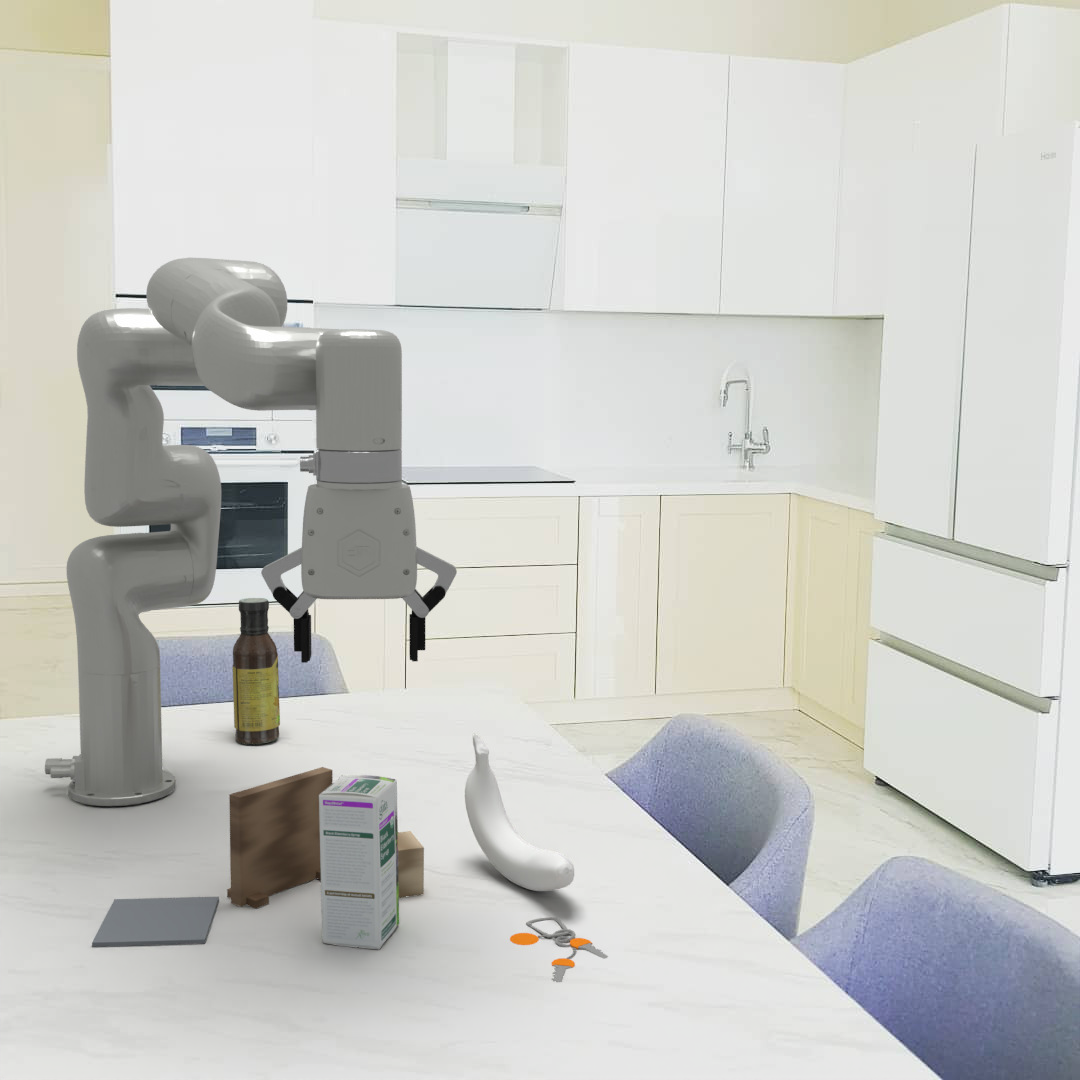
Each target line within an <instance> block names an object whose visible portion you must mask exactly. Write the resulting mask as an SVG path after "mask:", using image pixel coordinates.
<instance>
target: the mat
mask: <svg viewBox="0 0 1080 1080" xmlns="http://www.w3.org/2000/svg"><path fill="white" fill-rule="evenodd" d="M219 902H220V896H192V897H191V896H187V897H186V896H184V897H180V896H179V897H148V898H147V897H145V898H144V897H143V898H140V897H139V898H114V899H113V902H112V903H111V905H110V907H109V908H108V911H107V913H106V915H105V917H104V918H103V921H102V922H101V925H100V926H99V929H98V930H97V931H96V934H95V936H94V938H93V940H92V942H91V947H92V948H99V947H101V948H102V947H133V946H161V945H162V946H164V945H165V946H167V945H168V946H169V945H171V946H172V945H198V944H199V945H200V944H201V945H202V944H203V945H204V943H205V944H206V942H207V939H208V935H209V933H210V929H211V927H212V923H213V920H214V917H215V915H216V912H217V908H218V905H219Z"/></svg>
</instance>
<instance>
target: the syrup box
mask: <svg viewBox="0 0 1080 1080" xmlns="http://www.w3.org/2000/svg"><path fill="white" fill-rule="evenodd" d="M319 819H320V870H321V880H320V898H321V899H320V901H321V903H320V904H321V905H320V906H321V910H320V911H321V940H322V943H324V944H327V945H333V946H339V947H340V946H341V947H347V948H348V947H349V948H357V947H359V948H360V949H371V950H380V949H381V948H382V947H383V945H384V943H386V941H387V939H389V938H390V936H391V935H392V934H393V932H394V931H395V930H396V928H397V926H399V924H400V901H399V900H400V898H399V883H398V832H399V828H398V824H399V823H398V821H399V820H398V782H397V779H395V778H391V777H385V776H380V775H367V774H350V775H343V774H340V776H339V778H338V779H337V780H336V781H335V782H332V785H330V786H329V787H328V788H327V789H325V790H324V791H323V792H322V793H321V794H320V795H319Z"/></svg>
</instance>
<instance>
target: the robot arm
mask: <svg viewBox="0 0 1080 1080" xmlns="http://www.w3.org/2000/svg"><path fill="white" fill-rule="evenodd" d="M147 283H148V284H147V286H146V294H145V295H146V303H147V307H148V308H137V307H136V308H135V307H134V308H132V307H130V308H128V307H127V308H112V309H104V310H101V311H97V312H95V313H92V314H91V315H90V316H89V317H88V318H87V319H86V320H85V321H84V323H83V324H82V326H81V329H80V331H79V334H78V338H77V344H76V345H77V346H76V347H77V348H76V356H77V358H76V359H77V367H78V372H79V377H80V381H81V385H82V388H83V391H84V396H85V401H86V407H87V409H86V410H87V424H86V437H85V438H86V441H85V461H84V463H85V464H84V482H83V483H84V485H83V487H84V504H85V508H86V511H87V513H88V516H89V517H90V518H91V519H92V520H93V522H95V523H97V524H99V525H102V526H106V527H115V528H116V527H117V528H119V527H120V528H122V527H123V528H124V527H127V528H128V527H143V526H159V525H160V526H161V525H162V526H163V525H170V530H167V531H154V532H153V531H151V532H132V533H120V534H119V533H118V534H108V535H106V534H105V535H102V536H101V535H100V536H95V537H92V538H89V539H86V540H84V541H82V542H80V543H79V544H78V545H76V546H75V547H74V548H73V549H72V550H71V552H70V553H69V555H68V559H67V562H66V579H67V585H68V586H67V587H68V591H69V596H70V600H71V601H70V602H71V605H72V610H73V616H74V624H75V631H76V632H75V633H76V649H77V673H78V674H77V675H78V677H77V678H78V680H77V681H78V707H79V710H78V711H79V742H80V743H79V745H80V748H79V749H80V753H79V755H73V756H72V758H65V759H64V758H61V757H60V758H46V759H45V764H44V772H45V775H50V778H51V779H63V778H69V779H70V780H71V782H70V783H69V784H68V786H67V789H68V790H67V791H68V793H67V794H68V796H69V798H70V799H71V800H73V801H75V802H77V803H80V804H84V805H88V806H96V807H121V806H133V805H138V804H145V803H149V802H153V801H156V800H159V799H162V798H164V797H167V796H168V795H170V794H171V793H173V792H174V791H175V789H176V786H177V779H176V776H175V775H174V774H173V773H171V772H169V771H168V770H164V769H163V732H162V731H163V730H162V724H163V723H162V690H161V689H162V686H161V683H162V681H161V654H160V653H161V652H160V647H159V644H158V642H157V639H156V638H155V636H154V635H153V633H152V632H151V630H149V629H148V627H146V625H145V624H144V623H143V622H142V620H141V618H140V616H139V615H140V614H141V613H146V612H151V611H156V610H157V611H159V610H160V611H161V610H168V609H176V608H183V607H191V606H195V605H197V604H200V603H203V602H204V601H205V600H206V599H207V598H208V597H209V596H210V594H211V592H212V590H213V588H214V585H215V584H214V583H215V579H216V571H217V564H218V563H217V562H218V549H219V548H218V547H219V536H220V535H219V534H220V521H221V511H222V482H221V476H220V472H219V469H218V465H217V464H216V461H215V459H214V458H213V457H212V455H210V453H209V452H208V451H206V450H205V449H204V448H203V447H199V446H195V445H190V444H189V445H188V444H172V445H171V444H169V445H168V444H167V445H164V444H163V434H164V425H165V424H164V423H165V416H164V414H165V413H164V410H163V407H162V403H161V400H160V399H159V398H158V396H157V394H156V393H155V391H154V390H153V388H152V387H151V386H166V387H167V386H168V387H169V386H171V387H177V386H178V387H181V386H182V387H184V386H185V387H188V386H189V387H192V386H193V387H196V386H197V387H205V388H206V389H207V390H209V391H210V392H212V393H213V394H215V395H216V396H218V398H220V399H222V400H224V401H225V402H227V403H230V404H231V405H233V406H236V407H239V408H241V409H245V410H249V411H262V412H265V411H303V410H304V411H315V415H316V416H315V417H316V418H315V420H316V422H315V428H316V430H315V433H316V435H315V436H316V440H315V441H316V442H315V443H316V445H315V446H316V450H315V452H313V454H309V455H308V456H300V457H299V471H300V472H302V473H303V472H305V473H308V474H312V476H314V477H315V480H316V483H314V484H310V485H308V486H307V492H306V496H305V501H304V510H303V517H302V521H303V522H302V533H301V536H302V537H301V547H300V548H298V549H296V550H293V551H292V552H289V553H288V554H285V555H284V556H281V557H280V558H278V559H276V560H275V561H273V562H271V563H268V564H267V565H265V566H264V567H263V568H262V570H261V573H260V574H261V577H262V578H263V580H264V582H265V583H266V585H267V587H268V589H269V590H270V592H271V594H272V597H273V599H274V600H275V601H276V602H277V603H278V604H279V605H280V606H281V607H282V608H284V610H286V611H287V612H288V613H289V615H290V616H291V618H292V619H293V651H294V652H295V653H296V652H297V653H298V652H301V653H300V654H301V655H300V656H301V657H300V658H301V659H300V660H301V663H308V662H310V660H311V657H312V615H311V614H310V612H309V608H310V607H311V606H312V605H313V604H314V602H316V600H318V599H319V600H395V599H396V600H397V599H402V600H403V601H404V602H405V603H406V604H407V606H408V607H409V608H410V609H411V613H409V661H412V662H418V661H419V660H418V658H419V657H418V655H419V654H418V653H419V651H426V617H427V616H428V615H429V613H431V611H433V609H434V608H435V607H437V605H438V604H439V603H440V602H441V601H442V600H444V598H445V596H446V594H447V592H448V590H449V589H450V587H451V585H452V583H453V582H454V579H455V577H456V575H457V568H456V566H455V565H453V564H451V563H449V562H447V561H445V560H444V559H442V558H439V557H438V556H436V555H434V554H432V553H430V552H428V551H426V550H424V549H422V548H420V547H418V546H417V532H416V531H417V529H416V528H417V527H416V515H415V508H414V502H413V496H412V490H411V487H410V486H409V485H408V484H406V483H405V484H404V483H403V480H402V479H403V476H402V475H403V474H402V473H403V471H402V470H403V469H402V466H403V464H402V463H403V462H402V461H403V460H402V459H403V457H402V452H403V450H402V449H403V448H402V445H403V444H402V442H403V440H402V439H403V438H402V436H403V433H402V429H403V428H402V427H403V425H402V423H403V420H402V419H403V418H402V417H403V416H402V415H403V409H402V407H403V404H402V403H403V402H402V401H403V396H402V395H403V394H402V393H403V390H402V389H403V387H402V386H403V384H402V383H403V382H402V381H403V375H402V374H403V373H402V372H403V370H402V369H403V367H402V364H403V361H402V360H403V359H402V358H403V353H402V345H401V341H400V339H399V338H398V336H397V335H395V334H394V333H393V332H390V331H387V330H384V329H383V330H382V329H364V328H362V329H361V328H358V329H357V328H356V329H355V328H354V329H353V328H349V329H347V328H346V329H343V328H341V329H339V328H321V327H320V328H319V327H317V328H316V327H305V326H304V327H302V326H300V327H299V326H297V327H296V326H284V323H285V321H286V319H287V318H286V317H287V313H288V295H287V291H286V288H285V286H284V285H285V284H284V283H283V281H282V279H281V278H280V276H279V275H278V273H276V272H275V271H274V270H273V269H272V268H271V267H269V266H267V265H265V264H264V263H261V262H257V261H251V260H236V259H224V258H222V259H221V258H210V257H209V258H207V257H205V258H204V257H183V258H177V259H173V260H170V261H168V262H166V263H163V264H162V265H161V266H160V267H158V268H157V269H156V270H155V272H154V273H153V274H152V275H151V277H150V278H149V281H148V282H147ZM300 565H301V567H300V568H301V569H300V570H301V571H300V572H301V573H300V574H301V585H302V586H301V587H302V589H303V591H302V592H301V593H300V594H299V596H296V595H295V594H294V593H293V592H292V591H291V590H290V589H289V588H288V587H287V586H286V585H285V583H284V581H283V579H282V575H283V574H284V573H287V572H289V571H290V570H293V569H294V568H296V567H299V566H300ZM418 565H419V566H421V567H423V568H425V569H427V570H429V571H430V572H433V573H435V574H436V575H437V578H436V580H435V583H434V585H433V586H432V587H431V588H430V589H429V590H428V591H427V592H426V593H425V594H424V595H422V594H420V592H419V591H418V590H417V581H418Z"/></svg>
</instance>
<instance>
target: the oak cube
mask: <svg viewBox="0 0 1080 1080" xmlns="http://www.w3.org/2000/svg"><path fill="white" fill-rule="evenodd" d="M424 859H425V848H424V846H423V844H422V843H421V842H420V841H419V840H418V838H417V837H416V836H415V835H414V833H413V832H412V831H411V830H406V831H398V883H399V897H400V898H401V897H402V898H407V897H406V896H409V897H415V896H414V895H417V896H422V895H421V894H425V893H424V891H425V889H424V886H425V884H424V883H425V882H424V881H425V880H424V877H425V870H424V869H425V868H424V867H425V865H424V864H425V860H424ZM400 898H399V899H400Z"/></svg>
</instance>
